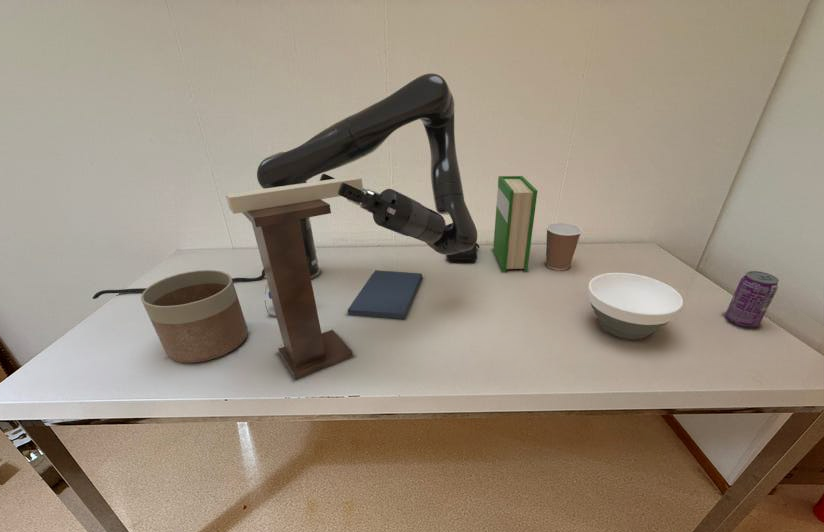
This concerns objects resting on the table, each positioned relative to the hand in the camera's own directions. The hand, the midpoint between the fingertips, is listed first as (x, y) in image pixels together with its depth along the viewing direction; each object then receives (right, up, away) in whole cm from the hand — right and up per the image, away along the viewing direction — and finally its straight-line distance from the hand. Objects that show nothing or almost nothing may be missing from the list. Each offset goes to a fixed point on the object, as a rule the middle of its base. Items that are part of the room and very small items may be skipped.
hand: (330, 183), depth 68 cm
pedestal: (-7, -32, +13) cm, 35 cm away
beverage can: (+92, -25, +26) cm, 99 cm away
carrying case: (+26, -4, +60) cm, 65 cm away
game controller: (-19, -22, +29) cm, 41 cm away
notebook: (+5, -18, +36) cm, 41 cm away
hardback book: (+40, -6, +56) cm, 70 cm away
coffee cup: (+55, -8, +53) cm, 77 cm away
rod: (-4, -4, -2) cm, 6 cm away
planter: (-32, -29, +17) cm, 46 cm away
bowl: (+62, -26, +24) cm, 72 cm away
